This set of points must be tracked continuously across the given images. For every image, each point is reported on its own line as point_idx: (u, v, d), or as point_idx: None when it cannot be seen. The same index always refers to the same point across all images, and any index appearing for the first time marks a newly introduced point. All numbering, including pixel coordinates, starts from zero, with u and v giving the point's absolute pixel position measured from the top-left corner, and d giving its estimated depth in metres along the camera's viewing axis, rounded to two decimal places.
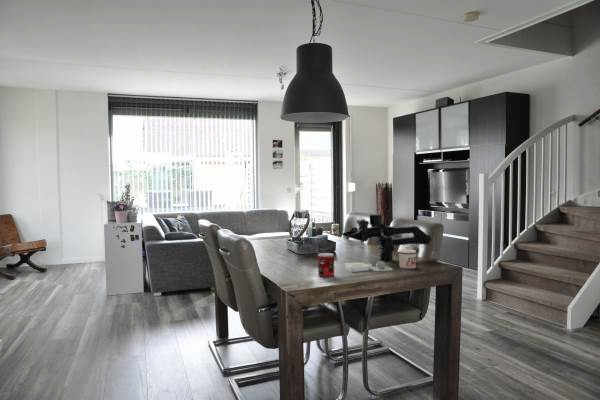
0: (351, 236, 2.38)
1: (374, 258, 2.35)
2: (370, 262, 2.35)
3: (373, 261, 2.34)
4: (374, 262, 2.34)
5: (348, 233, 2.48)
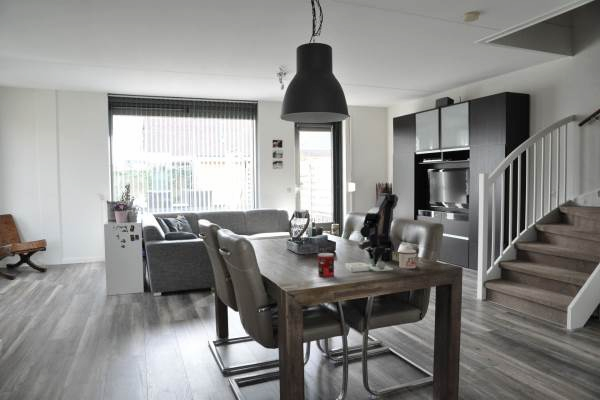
0: (376, 261, 2.33)
1: None
2: (370, 262, 2.35)
3: (373, 261, 2.34)
4: None
5: (371, 255, 2.38)
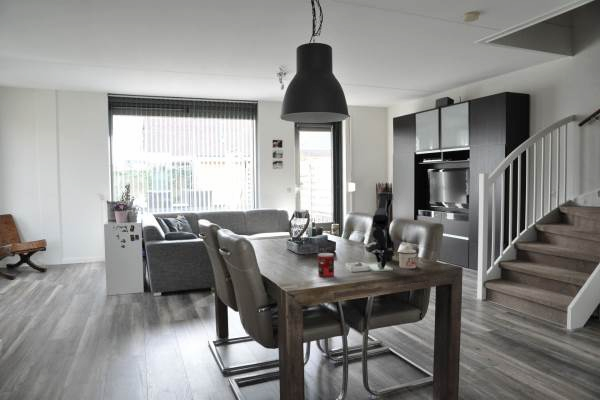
0: (384, 264, 2.24)
1: (358, 262, 2.25)
2: None
3: (357, 265, 2.24)
4: None
5: (379, 258, 2.29)
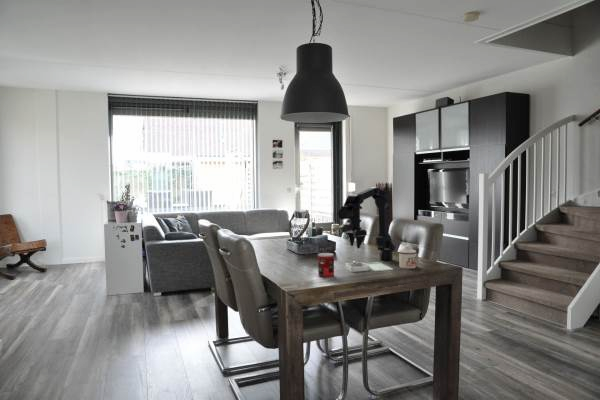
0: (359, 245, 2.24)
1: (359, 262, 2.25)
2: (355, 266, 2.25)
3: None
4: None
5: (351, 238, 2.34)
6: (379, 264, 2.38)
